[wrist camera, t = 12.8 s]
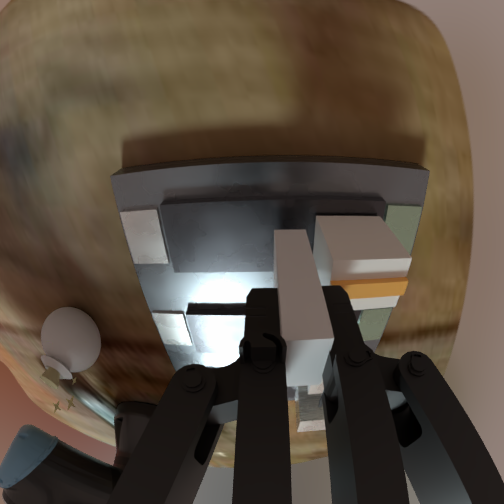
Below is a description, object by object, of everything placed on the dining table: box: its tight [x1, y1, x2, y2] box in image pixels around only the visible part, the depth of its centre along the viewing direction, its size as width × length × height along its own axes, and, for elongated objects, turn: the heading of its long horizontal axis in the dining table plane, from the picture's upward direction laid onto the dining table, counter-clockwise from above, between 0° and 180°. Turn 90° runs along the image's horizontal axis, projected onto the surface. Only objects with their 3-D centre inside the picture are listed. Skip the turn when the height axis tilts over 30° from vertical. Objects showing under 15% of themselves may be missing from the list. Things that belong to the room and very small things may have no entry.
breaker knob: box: [313, 216, 412, 310], centre depth 13 cm, size 4×3×4 cm
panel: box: [110, 155, 430, 432], centre depth 18 cm, size 18×24×6 cm
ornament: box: [40, 307, 101, 413], centre depth 19 cm, size 6×8×10 cm
